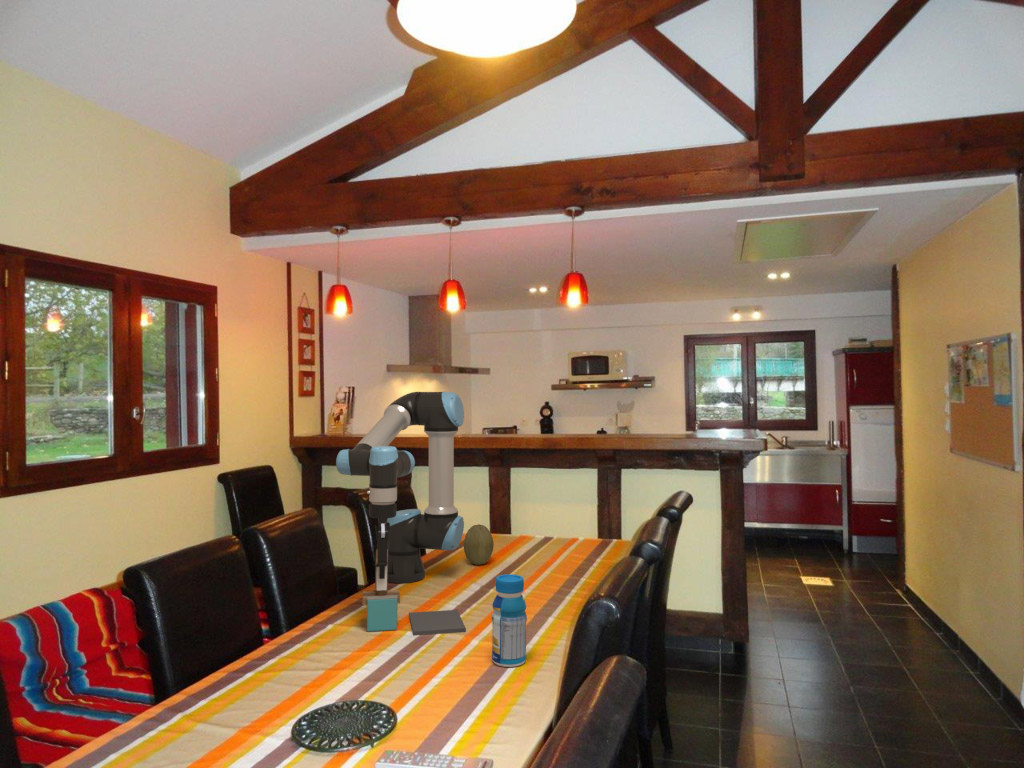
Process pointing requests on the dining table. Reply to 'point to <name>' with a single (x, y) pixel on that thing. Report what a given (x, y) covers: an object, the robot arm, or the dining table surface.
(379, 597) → the tile
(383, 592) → the tamper
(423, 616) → the mat
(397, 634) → the dining table surface
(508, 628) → the beverage bottle
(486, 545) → the fruit
